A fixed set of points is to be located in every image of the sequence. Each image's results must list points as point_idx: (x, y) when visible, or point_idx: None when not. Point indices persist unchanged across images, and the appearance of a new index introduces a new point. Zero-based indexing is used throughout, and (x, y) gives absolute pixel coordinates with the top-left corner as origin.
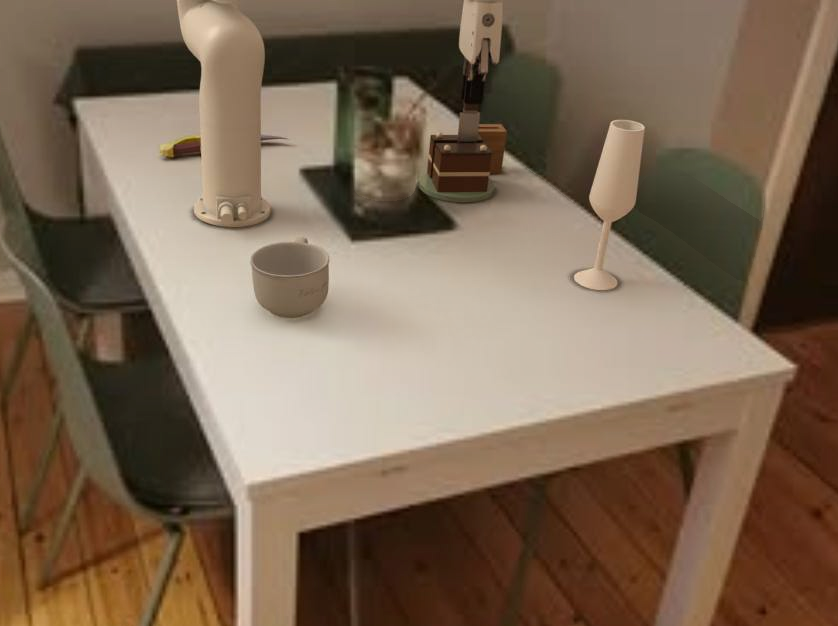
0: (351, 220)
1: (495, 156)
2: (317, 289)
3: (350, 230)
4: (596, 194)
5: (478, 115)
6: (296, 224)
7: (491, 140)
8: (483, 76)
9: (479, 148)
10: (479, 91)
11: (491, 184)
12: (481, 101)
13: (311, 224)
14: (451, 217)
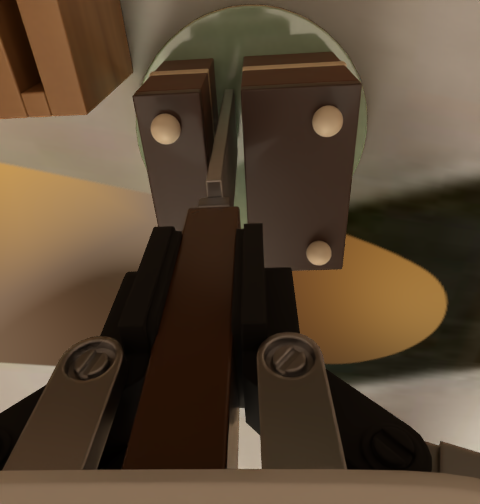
0: (413, 358)
1: None
2: None
3: (457, 363)
4: None
5: (223, 183)
6: (409, 419)
7: (77, 7)
8: (376, 405)
9: (307, 130)
10: (295, 301)
11: (268, 18)
12: (262, 231)
13: (415, 405)
14: (451, 180)
